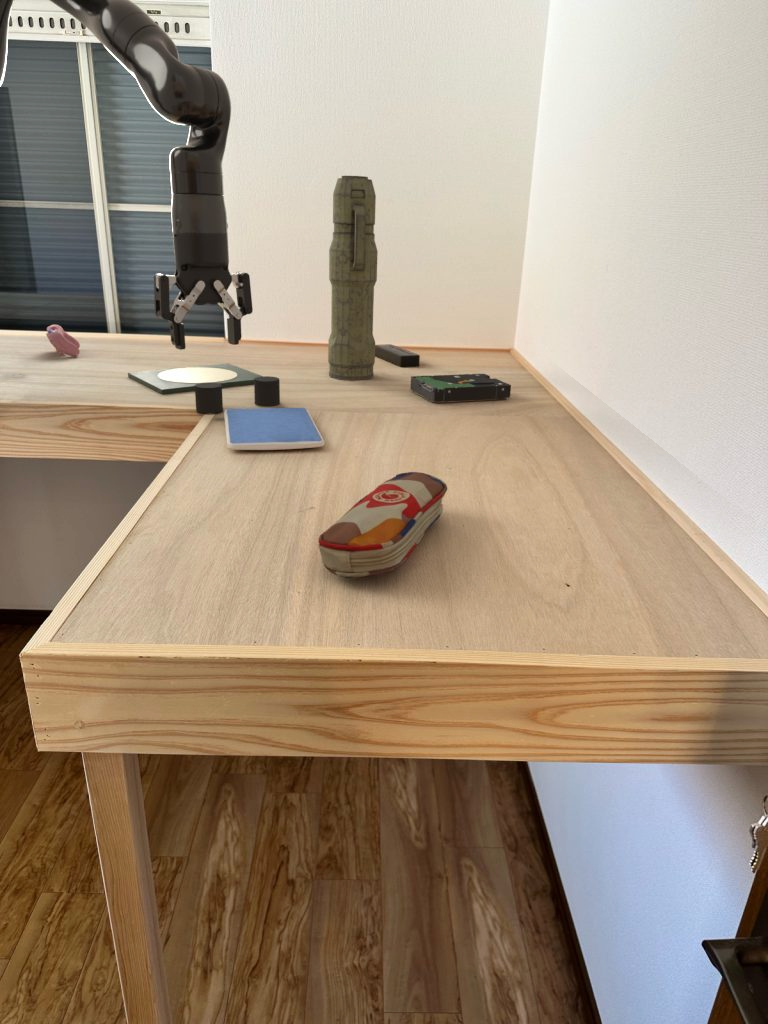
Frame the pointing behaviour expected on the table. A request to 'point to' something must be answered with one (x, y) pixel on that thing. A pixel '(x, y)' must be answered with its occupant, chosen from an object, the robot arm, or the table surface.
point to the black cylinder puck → (267, 391)
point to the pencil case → (383, 526)
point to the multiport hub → (397, 355)
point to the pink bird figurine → (62, 341)
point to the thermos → (352, 279)
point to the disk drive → (460, 388)
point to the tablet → (271, 429)
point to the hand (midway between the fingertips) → (207, 346)
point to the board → (193, 377)
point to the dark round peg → (208, 398)
